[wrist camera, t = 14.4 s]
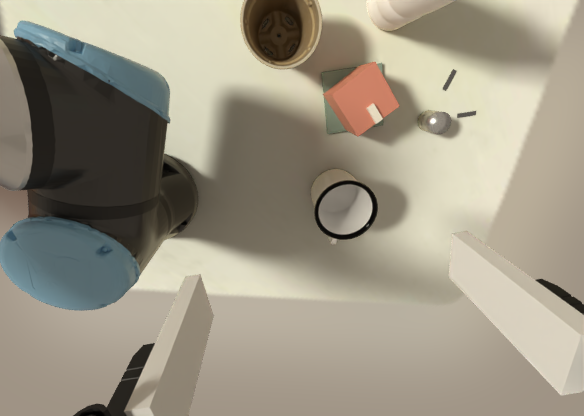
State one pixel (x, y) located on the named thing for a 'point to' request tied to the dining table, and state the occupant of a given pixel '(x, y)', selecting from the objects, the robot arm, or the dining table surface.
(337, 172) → the mug
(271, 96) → the dining table surface
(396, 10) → the water bottle
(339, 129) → the pad
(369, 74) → the orange box with tab
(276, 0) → the flower pot
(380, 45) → the dining table surface
